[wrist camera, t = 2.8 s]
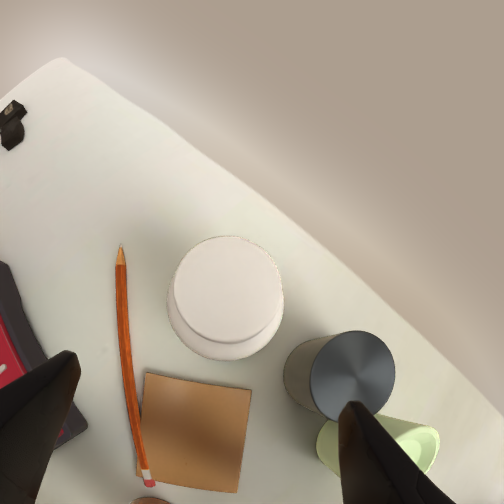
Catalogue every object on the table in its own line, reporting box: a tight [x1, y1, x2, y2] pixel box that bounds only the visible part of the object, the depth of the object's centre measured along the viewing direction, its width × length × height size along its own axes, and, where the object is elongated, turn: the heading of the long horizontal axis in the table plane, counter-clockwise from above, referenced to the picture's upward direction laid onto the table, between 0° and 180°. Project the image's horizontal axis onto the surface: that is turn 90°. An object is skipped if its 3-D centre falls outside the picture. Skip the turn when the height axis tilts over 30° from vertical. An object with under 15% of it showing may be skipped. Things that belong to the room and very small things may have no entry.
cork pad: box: [136, 372, 252, 493], centre depth 16 cm, size 8×7×1 cm
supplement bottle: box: [167, 236, 284, 361], centre depth 15 cm, size 5×5×10 cm
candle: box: [316, 414, 440, 478], centre depth 13 cm, size 5×5×8 cm
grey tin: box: [283, 331, 395, 423], centre depth 16 cm, size 5×5×6 cm
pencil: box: [116, 244, 155, 487], centre depth 17 cm, size 1×18×1 cm, turn 8°
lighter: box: [0, 100, 27, 151], centre depth 22 cm, size 8×2×5 cm
